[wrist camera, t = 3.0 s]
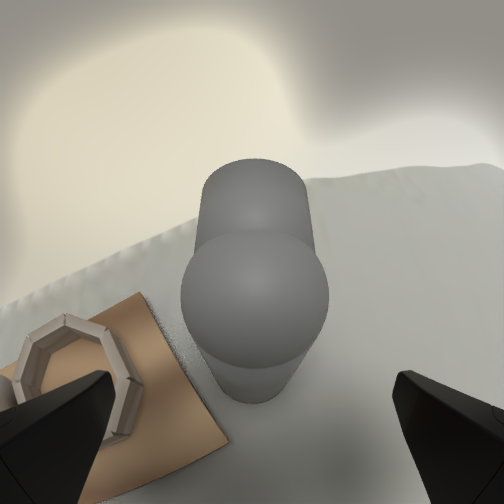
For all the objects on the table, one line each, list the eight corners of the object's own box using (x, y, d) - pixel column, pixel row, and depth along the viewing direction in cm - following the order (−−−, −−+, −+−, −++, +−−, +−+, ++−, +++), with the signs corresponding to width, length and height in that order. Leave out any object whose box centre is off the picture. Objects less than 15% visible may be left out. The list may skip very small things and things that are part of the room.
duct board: (230, 441, 17) (221, 444, 12) (18, 523, 11) (-32, 529, 6) (144, 298, 22) (115, 253, 17) (-29, 396, 16) (-77, 375, 11)
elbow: (291, 402, 18) (358, 343, 7) (213, 402, 18) (153, 343, 7) (287, 305, 22) (323, 154, 11) (217, 305, 22) (187, 153, 11)
